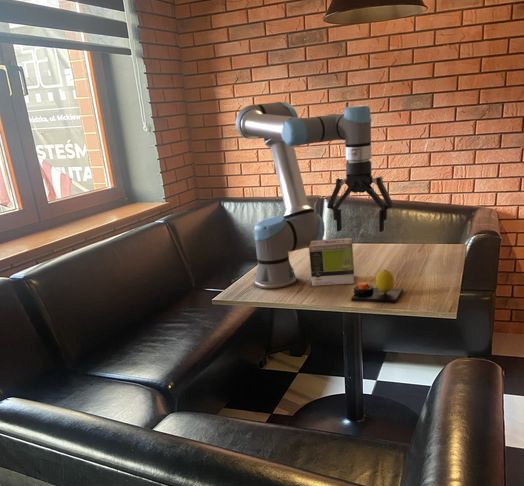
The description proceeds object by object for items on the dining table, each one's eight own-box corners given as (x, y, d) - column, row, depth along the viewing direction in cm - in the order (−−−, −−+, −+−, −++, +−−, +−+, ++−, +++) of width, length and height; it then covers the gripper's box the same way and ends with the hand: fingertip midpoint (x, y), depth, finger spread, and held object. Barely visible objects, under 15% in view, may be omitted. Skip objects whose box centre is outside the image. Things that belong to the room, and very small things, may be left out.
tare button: (357, 289, 174) (357, 284, 173) (360, 286, 176) (359, 281, 176) (366, 290, 172) (366, 284, 172) (369, 287, 175) (369, 281, 174)
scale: (349, 301, 172) (349, 292, 171) (359, 290, 181) (359, 281, 180) (395, 303, 165) (395, 294, 164) (402, 292, 175) (402, 283, 174)
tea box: (354, 276, 197) (352, 236, 192) (354, 284, 187) (352, 243, 182) (313, 278, 200) (310, 239, 194) (311, 286, 190) (308, 245, 185)
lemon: (394, 296, 168) (393, 271, 166) (376, 296, 170) (375, 272, 167) (393, 290, 173) (393, 266, 171) (376, 291, 175) (375, 267, 172)
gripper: (315, 164, 162) (318, 232, 170) (397, 160, 152) (397, 234, 160) (323, 161, 169) (326, 227, 176) (403, 157, 158) (402, 228, 166)
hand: (360, 230), depth 168 cm, fingers open, 13 cm apart
